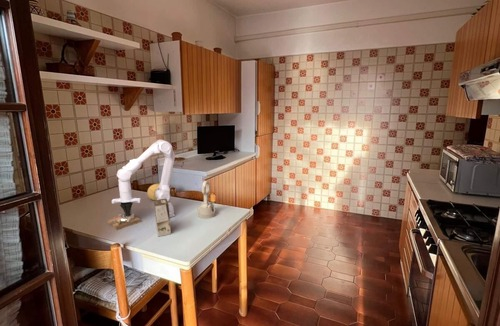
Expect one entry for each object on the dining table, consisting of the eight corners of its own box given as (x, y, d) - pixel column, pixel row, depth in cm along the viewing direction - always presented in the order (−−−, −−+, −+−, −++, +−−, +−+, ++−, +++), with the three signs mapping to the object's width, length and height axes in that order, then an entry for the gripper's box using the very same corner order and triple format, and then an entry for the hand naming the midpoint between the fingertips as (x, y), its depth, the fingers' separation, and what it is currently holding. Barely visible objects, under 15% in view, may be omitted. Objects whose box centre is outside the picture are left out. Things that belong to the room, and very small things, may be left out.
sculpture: (154, 203, 175) (152, 187, 173) (145, 199, 183) (143, 184, 180) (169, 198, 184) (168, 183, 181) (160, 194, 191) (158, 180, 189)
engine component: (195, 218, 151) (211, 219, 149) (193, 183, 147) (210, 184, 145) (202, 210, 161) (218, 211, 159) (200, 178, 157) (216, 179, 155)
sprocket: (137, 218, 146) (137, 210, 145) (118, 225, 139) (117, 216, 137) (129, 213, 153) (128, 205, 152) (110, 219, 146) (109, 211, 144)
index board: (141, 221, 147) (140, 214, 146) (117, 230, 137) (116, 222, 136) (130, 215, 155) (130, 208, 154) (107, 222, 146) (106, 215, 145)
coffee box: (171, 234, 132) (168, 203, 129) (157, 236, 130) (155, 206, 126) (169, 226, 140) (166, 198, 137) (156, 229, 138) (153, 200, 134)
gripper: (141, 188, 145) (144, 211, 148) (114, 189, 144) (117, 212, 147) (137, 192, 138) (139, 217, 141) (108, 193, 137) (111, 218, 140)
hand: (128, 215), depth 143 cm, fingers closed
